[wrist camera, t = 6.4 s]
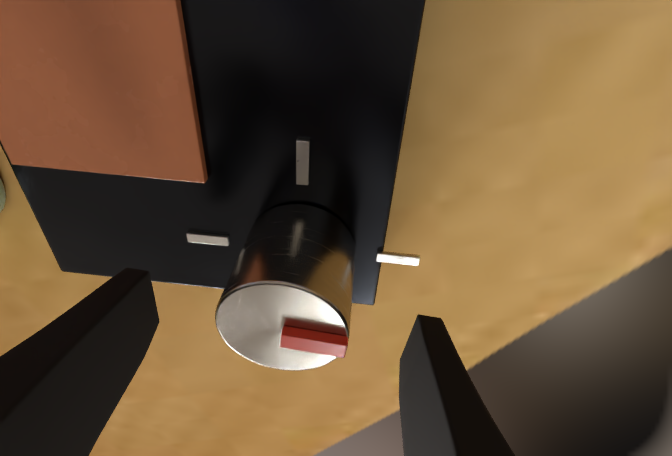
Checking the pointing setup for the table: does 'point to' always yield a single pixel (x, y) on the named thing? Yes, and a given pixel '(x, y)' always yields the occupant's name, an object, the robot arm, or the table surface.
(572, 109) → the table surface
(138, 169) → the tile
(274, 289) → the dial
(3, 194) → the sage green cylinder
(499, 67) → the table surface
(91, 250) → the warmer
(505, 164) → the table surface
